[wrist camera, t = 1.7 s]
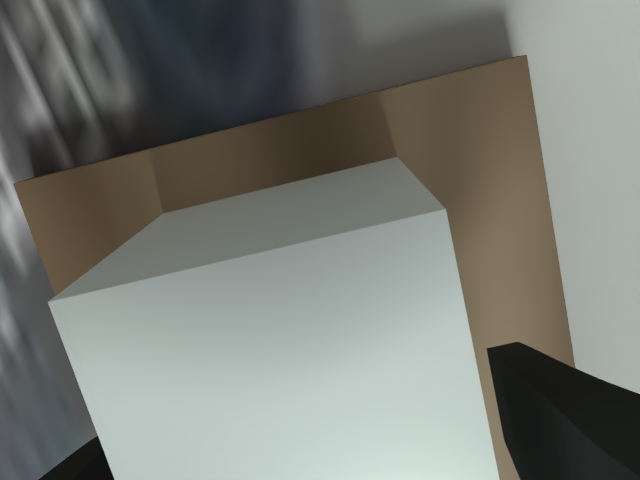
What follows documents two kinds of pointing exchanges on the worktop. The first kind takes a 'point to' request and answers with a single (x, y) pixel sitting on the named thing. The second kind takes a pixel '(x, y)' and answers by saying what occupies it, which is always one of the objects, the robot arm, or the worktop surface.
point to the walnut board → (343, 153)
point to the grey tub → (284, 339)
